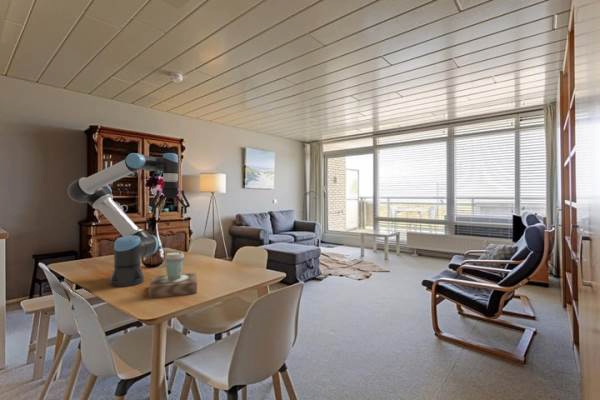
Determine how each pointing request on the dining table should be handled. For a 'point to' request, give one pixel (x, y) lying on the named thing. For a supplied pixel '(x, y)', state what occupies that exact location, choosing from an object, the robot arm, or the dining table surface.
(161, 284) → the walnut plinth
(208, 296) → the dining table surface
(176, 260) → the coffee cup
